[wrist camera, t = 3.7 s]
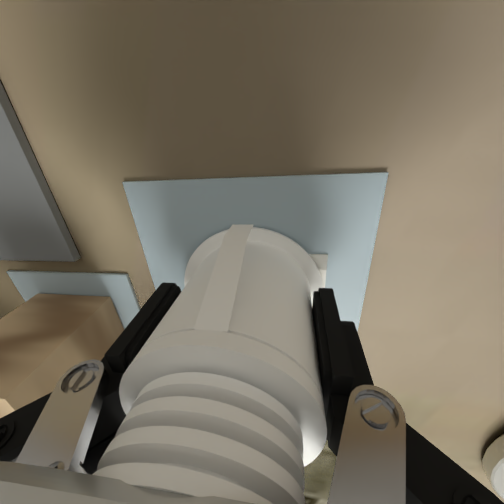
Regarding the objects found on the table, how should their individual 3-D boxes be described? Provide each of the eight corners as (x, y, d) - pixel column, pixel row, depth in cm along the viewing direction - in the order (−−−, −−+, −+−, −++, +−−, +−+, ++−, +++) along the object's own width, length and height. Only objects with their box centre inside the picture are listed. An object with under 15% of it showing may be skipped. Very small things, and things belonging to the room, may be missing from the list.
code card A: (381, 169, 10) (389, 172, 9) (348, 355, 15) (350, 367, 14) (132, 178, 11) (121, 182, 11) (179, 342, 17) (174, 353, 16)
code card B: (134, 267, 14) (125, 276, 13) (166, 360, 18) (160, 370, 17) (19, 264, 15) (4, 272, 15) (71, 351, 19) (62, 361, 18)
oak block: (110, 296, 14) (4, 399, 9) (134, 354, 17) (62, 462, 11) (37, 293, 15) (-98, 385, 10) (71, 349, 17) (-24, 447, 12)
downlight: (317, 349, 14) (364, 745, 5) (199, 341, 15) (61, 650, 6) (328, 213, 10) (560, 704, 1) (174, 215, 11) (-242, 499, 3)
